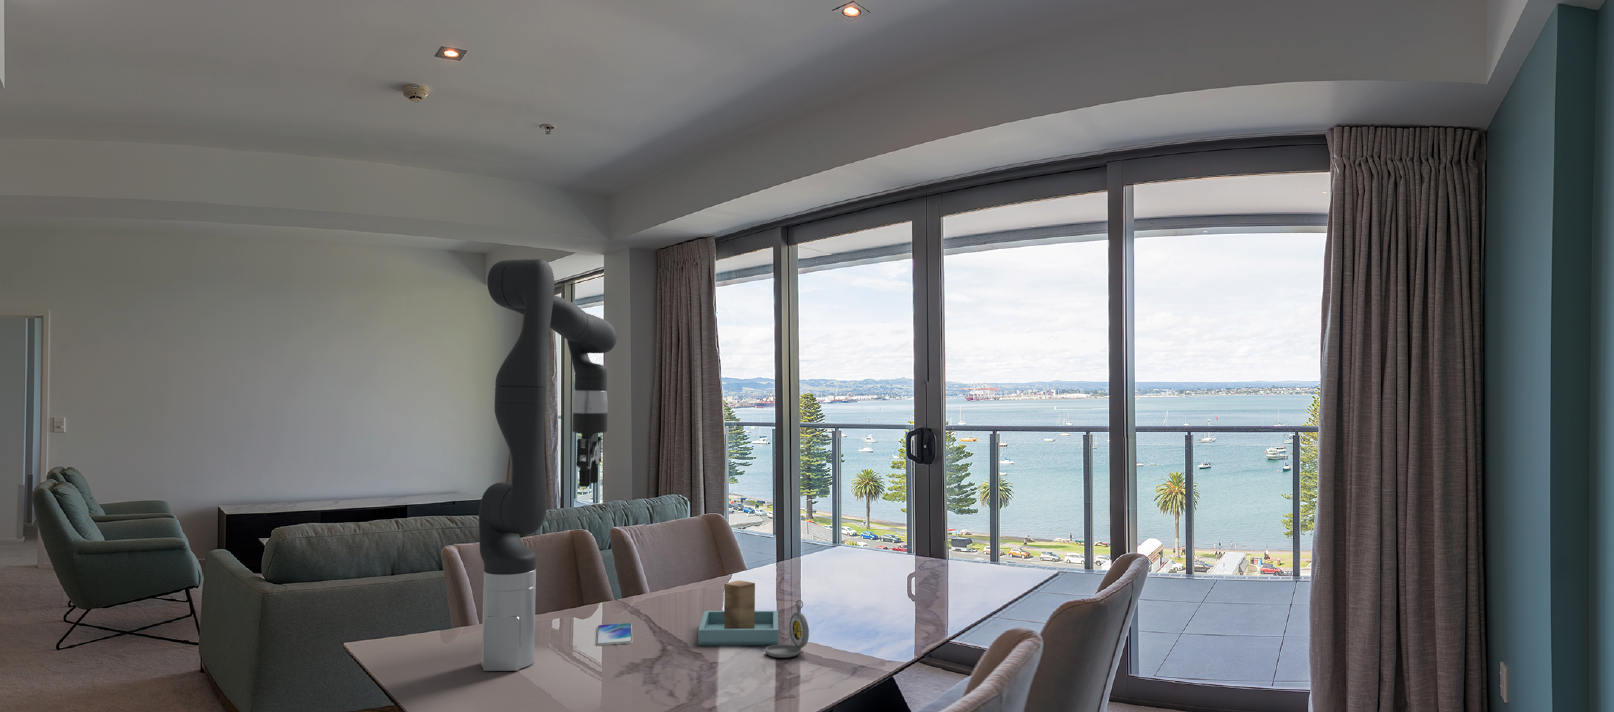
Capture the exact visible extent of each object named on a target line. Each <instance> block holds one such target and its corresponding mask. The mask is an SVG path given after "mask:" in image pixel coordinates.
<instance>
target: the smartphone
mask: <svg viewBox="0 0 1614 712" xmlns="http://www.w3.org/2000/svg"><path fill="white" fill-rule="evenodd" d="M596 630H597V631H596V640H595V641H596V642H595V645H596V646H598V647H599V646H600V647H601V646H602V647H604V646H606V647H607V646H613V645H615V646H621V645H624V646H626V645H632V644H633V642H634V641H633V626H632V623H631V622H624V623H610V624H598V625H597V629H596Z"/></svg>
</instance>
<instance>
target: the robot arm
mask: <svg viewBox="0 0 1614 712" xmlns="http://www.w3.org/2000/svg"><path fill="white" fill-rule="evenodd" d="M486 283H487V284H486V285H487V291H488V293H489V295H490V297H491V299H492V300H493V301H494V302H495V303H496V304H497V305H498V306H500V307H502V308H505V309H507V310H511V311H513V312H516V313H519V314H521V315H524V317H523V322H522V328H521V331H520V334H519V336H518V338H517V340H516V342H515V343H514V345H513V347H512V349H511V350H510V351H509V353H508V355H506V357H505V359H504V360H503V362H502V363H501V365H500V368H499V370H498V371H497V373H496V376H495V377H496V378H495V388H494V413H495V419H496V422H497V424H498V426H499V429H500V431H501V433H502V435H503V438H504V440H505V442H506V445H507V447H508V449H509V453H510V457H511V468H512V469H511V470H512V472H511V473H512V474H511V475H512V476H511V482H495V483H493V484H492V485H489V487H487V488H486V489H485V491H484V492H483V495H482V497H481V500H480V502H479V503H480V504H479V509H478V510H479V511H478V534H479V535H478V537H479V553H480V557H481V559H482V562H483V591H482V592H483V593H482V596H483V597H482V624H481V625H482V628H481V634H482V635H481V667H482V668H483V670H482V671H483V672H496V671H497V672H500V671H501V672H502V671H503V672H509V671H510V672H511V671H513V672H514V671H515V672H517V671H519V670H520V669H523V668H527V667H530V666H531V665H533V663H534V662H535V634H536V633H535V632H536V630H535V629H536V628H535V627H536V625H535V623H536V591H537V589H536V587H537V586H536V583H537V581H536V579H537V555H536V553H535V552H534V551H533V550H532V549H529V548H528V547H527V546H526V545H525V544H524V542H523V541H522V539H521V535H526V536H527V535H531V534H534V533H536V532H537V531H538V530H540V528H541V526H542V525H543V523H544V521H545V518H546V514H547V509H548V507H547V505H548V492H547V489H548V488H547V478H546V477H547V475H546V459H545V456H546V455H545V452H546V451H545V443H546V442H545V441H546V439H545V437H546V435H545V433H546V431H545V429H546V411H547V391H548V381H547V380H548V379H547V378H548V377H547V376H548V355H549V354H548V352H549V349H548V348H549V336H550V329H551V330H552V331H554V332H555V333H556V334H558V335H559V336H561V337H563V338H564V339H566V342H567V346H568V350H569V354H570V357H571V360H572V362H571V363H572V366H573V371H574V393H573V399H572V423H571V425H572V429H571V430H572V432H573V433H575V434H581V438H577V441H576V443H577V444H576V463H575V464H576V467H577V468H578V470H579V477H578V479H579V482H578V486H579V487H581V488H582V487H583V488H587V487H590V486H591V484H598V481H599V467H600V465H601V462H602V436H599V435H598V434H605V433H607V432H608V402H609V401H608V393H607V391H608V369H607V367H606V366H604V365H603V364H598V363H594V362H592V361H591V359H590V357H589V354H606V353H609V352H610V351H612V350H613V348H614V347H615V345H616V343H617V333H616V331H615V328H614V327H613V325H612V324H611V323H610V322H609V321H607V320H606V319H603V318H601V317H600V316H599V317H598V316H596V315H593V314H590V313H588V312H586V311H585V310H583V309H582V308H580V307H579V306H578V305H577V304H575V303H574V302H572V301H570V300H568V299H566V298H563V297H561V296H558V295H555V276H554V272H553V268H552V266H551V265H550V263H549V262H548V261H547V260H545V259H540V258H538V259H536V258H534V259H533V258H530V259H507V260H506V259H505V260H500V261H497V262H495V264H493V265H492V266H491V268H490V269H489V271H488V275H487V282H486Z"/></svg>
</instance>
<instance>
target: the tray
mask: <svg viewBox="0 0 1614 712" xmlns="http://www.w3.org/2000/svg"><path fill="white" fill-rule="evenodd" d="M697 636H698V637H697V646H773V645H779V610H755V629H724V610H704V611H703V614H702V618H701V621H700V623H699V627H698V631H697Z"/></svg>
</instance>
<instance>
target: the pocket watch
mask: <svg viewBox="0 0 1614 712" xmlns="http://www.w3.org/2000/svg"><path fill="white" fill-rule="evenodd" d="M799 602H800V603H801V605H800V604H798V603H799ZM795 605H796V607H795V608H796V611H797V612H794V613H793V614H792V615H791V616H790V620H789V628H788V629H789V635H790V639H791V641H792V643H793V645H792V644H778V645H768V646H767V647H765V653H766V655H768V656H770V657H773V658H774V657H775V658H779V659H780V658H792V657H796V656H797V655H799V654H800V651H801V649H802V648H804V647H805V646H807V644H808V642H809V636H810V630H809V624H808V620H807V618H806V616H805V615H804V614H803V613H801V610H802V608H803V607H804V603H803V600H801V599H798V600H797V601H796V603H795Z"/></svg>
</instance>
